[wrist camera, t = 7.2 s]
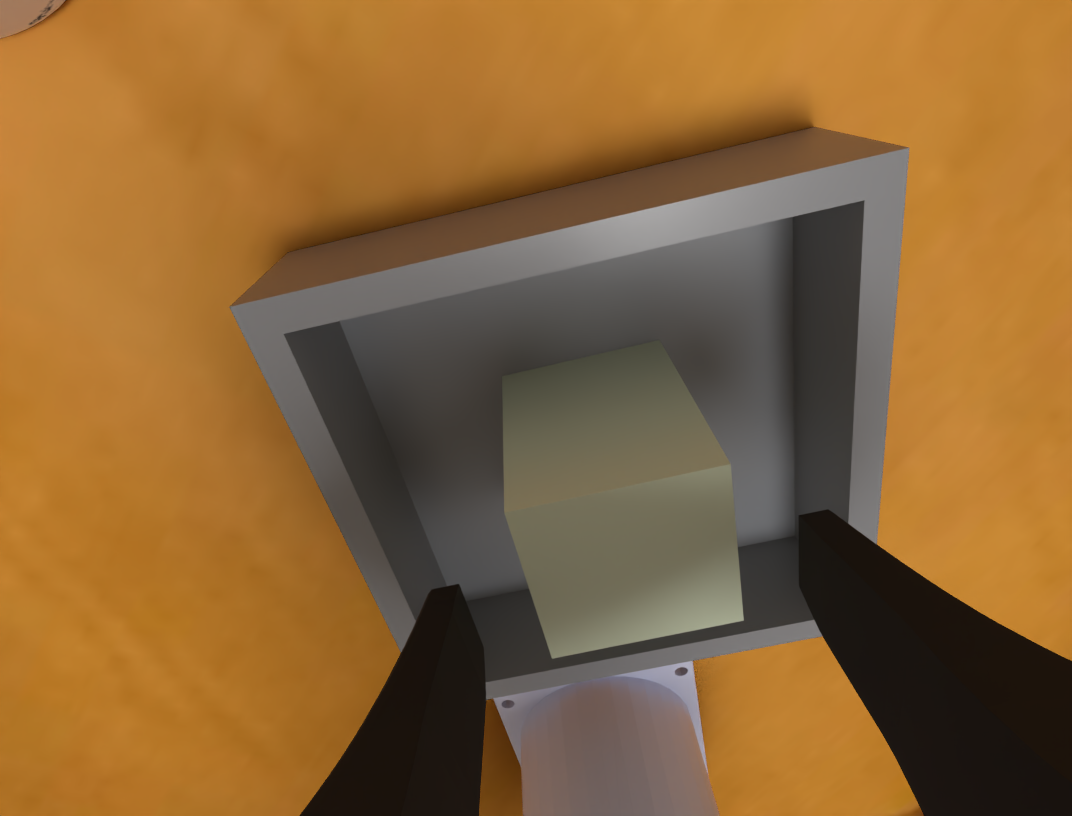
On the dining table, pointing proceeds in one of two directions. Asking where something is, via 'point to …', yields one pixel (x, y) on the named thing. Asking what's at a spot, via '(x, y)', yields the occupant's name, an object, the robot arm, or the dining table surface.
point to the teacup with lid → (24, 14)
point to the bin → (588, 329)
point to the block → (618, 501)
